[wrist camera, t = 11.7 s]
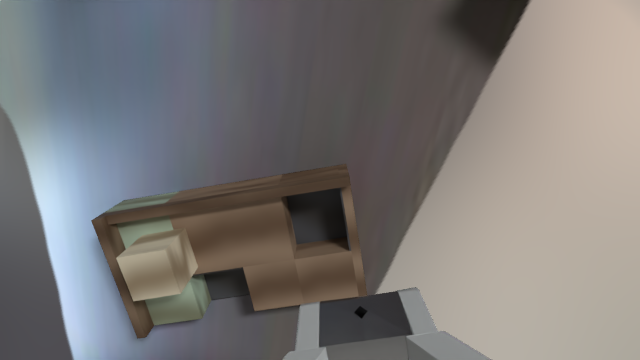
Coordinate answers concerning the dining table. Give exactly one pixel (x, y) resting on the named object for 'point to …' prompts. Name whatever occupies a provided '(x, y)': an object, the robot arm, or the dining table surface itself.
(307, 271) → the board
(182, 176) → the dining table surface
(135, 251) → the maple block
